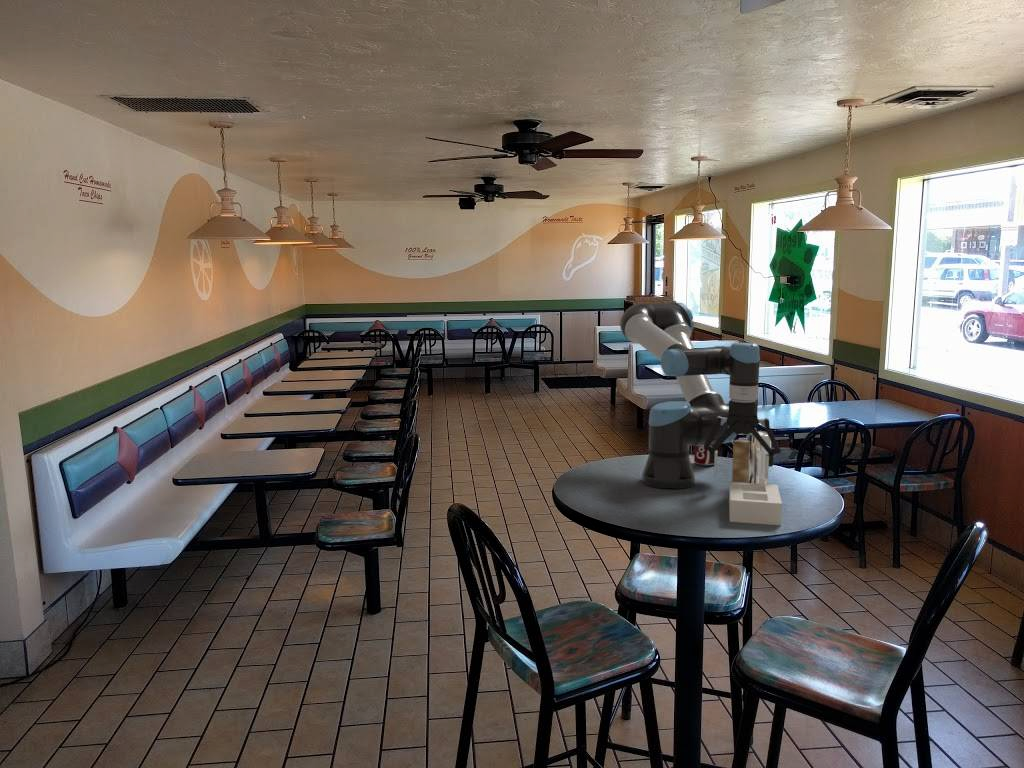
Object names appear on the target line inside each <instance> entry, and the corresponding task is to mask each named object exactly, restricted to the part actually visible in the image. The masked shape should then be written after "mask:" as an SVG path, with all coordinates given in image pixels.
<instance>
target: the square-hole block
mask: <svg viewBox="0 0 1024 768" xmlns="http://www.w3.org/2000/svg"><path fill="white" fill-rule="evenodd" d="M728 496H729V497H728V509H729V511H728V512H729V522H730V523H743V524H757V525H767V526H768V525H771V526H782V515H783V514H782V513H783V502H782V498H781V494H780V490H779V487H778V484H769V483H768V484H756V483H739V482H732V481H729V493H728Z"/></svg>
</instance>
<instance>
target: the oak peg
mask: <svg viewBox="0 0 1024 768" xmlns="http://www.w3.org/2000/svg"><path fill="white" fill-rule="evenodd" d="M732 441H733V442H732V443H733V445H732V446H733V447H732V472H731V473H732V476H731V479H732V480H731V482H739V483H749V463H750V441H747V440H746V439H734V440H732Z"/></svg>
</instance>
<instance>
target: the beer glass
mask: <svg viewBox="0 0 1024 768" xmlns="http://www.w3.org/2000/svg"><path fill="white" fill-rule="evenodd" d="M757 431H758V433H759V434H760V435H761V437H762V438H763V439H764V440H765V441H766V443H767V444H768V445H769V446H770V448H771V449H772V442H771V440H770V438H769V436H768V434H767V432H766V431H763V430H762V431H760V430H757ZM745 440H747V441H750V463H749V483H756V484H769V481H768V480H769V479H765V453H768V452H767V451H766V450H765V449H764V447H763V446H762V445H761V444H760V443H759V441H758V440H757V439H756V438H755V437H754V436H753V434H752V433H750V434H748V435H746V439H745Z"/></svg>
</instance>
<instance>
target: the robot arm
mask: <svg viewBox="0 0 1024 768" xmlns="http://www.w3.org/2000/svg"><path fill="white" fill-rule="evenodd" d="M693 320H694V315H693V313H692V310H691V309H690V308H689V306H687V304H685V303H683V302H677V301H668V302H638V303H636V304H635V303H634V304H632V305H630V306H629V307H627V309H626V310H625V311H624V312H623V314H622V316H621V318H620V321H619V322H620V324H619V325H620V327H619V328H620V330H621V333H622V335H623V336H624V337H625V338H626V339H627V340H628V341H630V342H631V343H634V344H639V345H640V346H641V347H643V348H644V349H645V350H646V351H648V352H649V353H650V354H651V355H652V356H654V357H655V358H657V359H658V360H659V361H660V367H661V369H662V372H663V374H664V375H665V376H667V377H675V378H676V381H677V383H678V385H679V387H680V389H681V392H682V395H683V397H684V399H685V400H684V401H683V400H677V401H673V400H672V401H665V402H660V403H657V404H654V405H653V406H652V407H651V408H650V410H649V415H648V417H649V418H648V457H647V458H646V459H647V460H646V462H645V465H644V468H643V471H642V472H641V473H642V475H641V476H642V478H641V482H642V481H643V482H644V483H646V484H648V485H647V486H649V485H651V486H650V487H652V486H654V487H653V488H657V487H660V488H659V489H664V488H674V489H673V490H675V489H676V490H677V489H680V488H681V489H687V488H690V487H692V486H694V485H695V484H696V478H695V477H696V476H695V473H694V472H695V471H694V468H693V466H692V462H691V459H690V447H695V446H697V445H704V449H705V450H708V451H710V463H713V465H714V466H713V467H714V468H713V476H714V477H717V476H718V452H719V451H718V449H719V448H720V446H721V445H722V444H729V443H731V442H732V441H734V440H735V438H736V437H737V435H746V436H747V435H748V434H750V433H752V434H753V436H754V437H755V438H756V439H757V440H758V441H759V443H760V444H761V445H762V446H763V447H764V449H765V450H766V451H767V452H768V453H765V479H767V480H769V467H773V466H774V456H775V455H777V454H778V455H779V454H780V453H781V452H782V451H781V448H780V446H779V443H778V441H777V440H776V437H775V435H774V433H773V431H772V428H771V426H770V419H769V418H768V417H764V418H759V417H758V409H759V408H758V406H759V405H758V404H759V403H758V401H757V400H758V399H759V380H760V378H759V377H760V376H759V375H760V361H761V356H760V346H759V345H758V344H757V343H755V342H733V343H731V345H730V347H728V346H724V345H721V346H720V345H718V346H716V345H715V346H712V347H702V348H701V347H696V348H694V346H693V342H692V341H691V337H692V333H693V331H694V326H695V322H694V321H693ZM707 375H709V376H712V375H713V376H714V375H727V376H729V386H728V389H729V390H728V398H729V399H730V400H729V401H728V403H725V401H724V399H723V397H722V395H721V394H720V393H718V392H714V389H713V387H712V385H711V383H710V380H709V378H708V376H707ZM758 425H761V427H763V428H764V429H765V432H767V434H768V436H769V438H770V440H771V445H772V446H773V448H772V447H771V448H770V446H769V445H768V444H767V443H766V441H765V440H764V439H763V438H762V437H761V435H760V434H759V433H758V431H759V430H758V429H756V428H757V427H758ZM711 444H713V446H710V445H711ZM643 482H642V483H643ZM644 483H643V484H644ZM646 484H645V485H646ZM681 489H680V490H681Z"/></svg>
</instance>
